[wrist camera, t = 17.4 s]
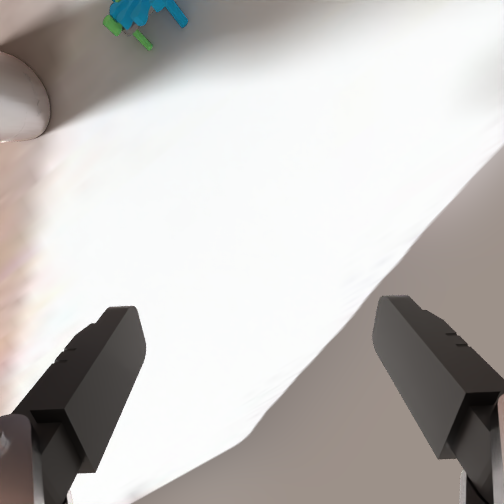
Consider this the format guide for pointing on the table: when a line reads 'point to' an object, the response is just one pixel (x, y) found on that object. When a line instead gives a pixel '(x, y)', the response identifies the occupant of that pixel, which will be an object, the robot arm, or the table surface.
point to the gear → (139, 16)
